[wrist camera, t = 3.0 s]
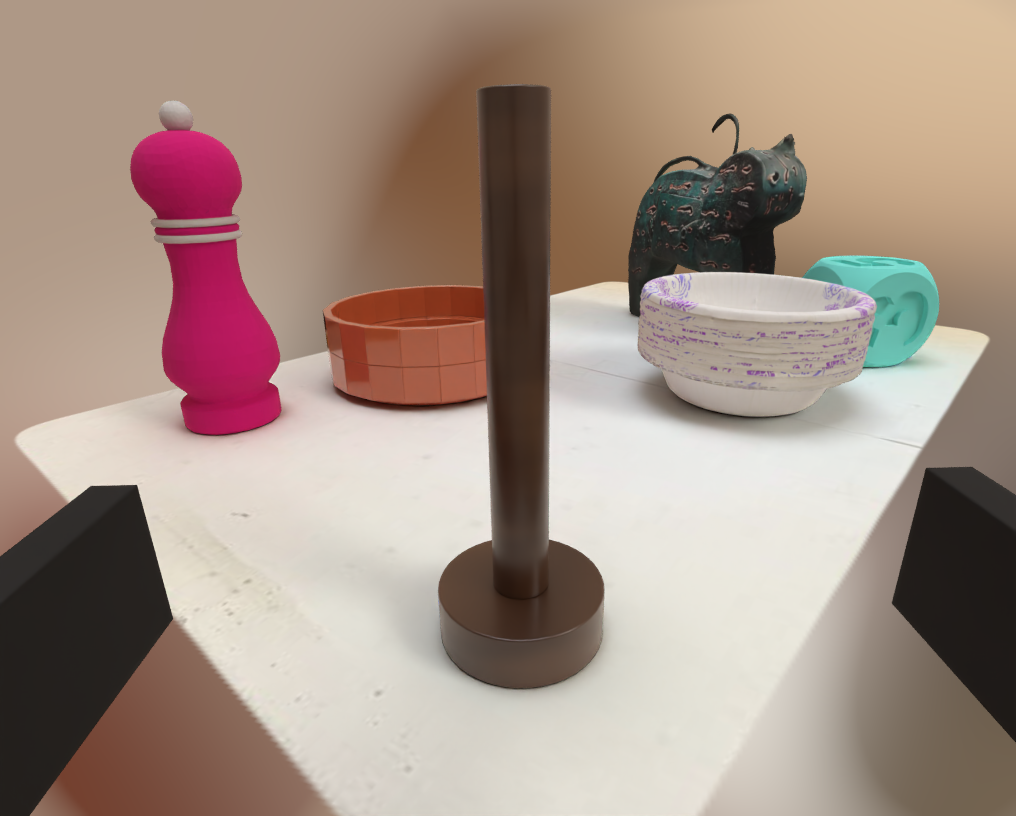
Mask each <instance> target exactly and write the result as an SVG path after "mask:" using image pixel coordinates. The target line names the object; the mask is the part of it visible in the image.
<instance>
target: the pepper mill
mask: <svg viewBox="0 0 1016 816" xmlns="http://www.w3.org/2000/svg"><path fill="white" fill-rule="evenodd" d="M159 117H160V120H161V123H162V124H163V126H164V127H165V128H166V129H167V131H161V132H158V133H155V134H152V135H150V136H148V137H146V138H145V139H144V140H142V141H141V142H140V143H139V144H138V146H137V147H136V148H135V150H134V152H133V155H132V158H131V167H130V168H131V169H130V170H131V179H132V182H133V184H134V187H135V189H136V191H137V193H138V194H139V196H140V197H141V198H142V199H143V200H144V201H145V202H146V203H147V204H148V205H149V206H150V207H151V208H152V209H153V210H154V211H155V213H156V215H157V217H158V218H154V219H152V220H151V224H152V225H153V226H154V227H156V228H155V233H156V235H155V236H154V239H155V241H157V242H159V243H163V245H164V248H165V251H166V253H167V256H168V259H169V262H170V266H171V273H172V278H173V299H172V304H171V309H170V314H169V318H168V322H167V326H166V330H165V334H164V337H163V345H162V358H163V367H164V371H165V374H166V376H167V377H168V378H169V379H170V381H171V382H173V383H174V384H175V385H176V386H178V387H179V388H180V389H182V390H183V391H185V392H186V393H187V395H186V396H185V397H184V398H183V399H182V401H181V409H182V413H183V417H184V422H185V426H186V427H187V428H188V429H189V430H191V431H193V432H195V433H199V434H208V435H221V434H231V433H237V432H242V431H247V430H251V429H254V428H257V427H260V426H263V425H265V424H267V423H269V422H271V421H273V420H274V419H275V418H276V417H278V416H279V414H280V412H281V403H280V398H279V392H278V388H277V387H276V386H275V385H274V384H272V383H269V380H270V378H271V377H272V375H273V374H274V373H275V371H276V369H277V367H278V365H279V362H280V352H279V349H278V345H277V341H276V338H275V336H274V334H273V332H272V330H271V328H270V326H269V324H268V322H267V321H266V320H265V318H264V317H263V315H262V314H261V312H260V311H259V309H258V308H257V306H256V305H255V303H254V302H253V300H252V298H251V297H250V295H249V293H248V291H247V289H246V287H245V284H244V282H243V280H242V276H241V272H240V268H239V263H238V258H237V243H236V239H237V238H240V237H241V236H242V232H241V231H240V230H239V225H238V224H237V222H239V221H240V218H239V217H238V216H237V215H234V214H232V207H233V205H234V203H235V201H236V200H237V198H238V196H239V194H240V192H241V188H242V181H241V175H240V171H239V168H238V165H237V162H236V160H235V158H234V156H233V155H232V154H231V152H230V151H229V149H227V148H226V147H225V146H224V145H223V144H222V143H221V142H219V141H218V140H216V139H215V138H213V137H211V136H209V135H206V134H203V133H200V132H196V131H190V128H191V127H192V124H193V116H192V114H191V112H190V110H189V109H188V107H186V106H185V105H184V104H182V103H180V102H178V101H168V102H165V103H164V104H163V105H162V106H161V108H160V110H159Z"/></svg>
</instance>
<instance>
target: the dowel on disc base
mask: <svg viewBox="0 0 1016 816" xmlns="http://www.w3.org/2000/svg"><path fill="white" fill-rule="evenodd" d="M477 116H478V117H477V119H478V147H479V176H480V207H481V235H482V265H483V294H484V323H485V352H486V381H487V410H488V439H489V468H490V497H491V526H492V540H491V541H487V542H484V543H481V544H478V545H476V546H474V547H471V548H469V549H467V550H466V551H464V552H462V553H461V554H460V555H458V556H457V557H456V558H454V559H453V560H452V561H451V562H450V563H449V565H448V566H447V567H446V568H445V570H444V572H443V574H442V576H441V578H440V581H439V587H438V596H439V609H440V623H441V635H442V641H443V644H444V647H445V649H446V651H447V653H448V655H449V656H450V657H451V659H452V660H453V662H455V663H456V664H457V665H458V666H459V667H460V668H461V669H462V670H464V671H465V672H466V673H468V674H469V675H471V676H473V677H475V678H477V679H479V680H481V681H484V682H486V683H490V684H493V685H497V686H503V687H509V688H534V687H541V686H546V685H550V684H554V683H557V682H559V681H562V680H565V679H567V678H569V677H570V676H572V675H574V674H576V673H577V672H579V671H580V670H581V669H583V668H584V667H585V666H586V665H587V664H588V663H589V662H590V661H591V660H592V658H593V657H594V656H595V654H596V652H597V650H598V648H599V646H600V643H601V640H602V632H603V610H604V583H603V579H602V576H601V574H600V572H599V570H598V569H597V567H596V566H595V565H594V563H593V562H592V561H591V560H590V559H589V558H587V557H586V556H585V555H584V554H582V553H581V552H579V551H577V550H576V549H574V548H572V547H570V546H568V545H565V544H562V543H560V542H556V541H553V540H549V381H550V179H551V177H550V176H551V174H550V173H551V172H550V171H551V161H550V160H551V89H550V88H549V87H547V86H542V85H527V84H519V85H518V84H517V85H515V84H514V85H496V86H487V87H482V88H479V89H477Z"/></svg>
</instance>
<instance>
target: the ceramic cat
mask: <svg viewBox="0 0 1016 816" xmlns="http://www.w3.org/2000/svg"><path fill="white" fill-rule="evenodd" d="M726 119H731V120H732V121H733V122H734V124H735V126H736V143H735V148H734V152H733V155H732V156H730V157H729V158H728V159H727V160H726V161H725V162H724V163H723V164H722V165H721V166H720V167H719V168H717V167H713V166H711V165H709V164H706V163H704V162H702V161H701V160H699V159H697V158H694V157H692V156H685V157H680V158H676V159H674V160H671V161H670V162H668V163H667V164H665V165H664V166H663V167H662V168H661V170H660V171H659V172H658V174H657V176H656V178H655V180H654V183H653V184H652V186H651V187H650V188H649V189H648V190H647V192H646V193H645V195H644V197H643V199H642V201H641V203H640V206H639V209H638V213H637V217H636V221H635V225H634V231H633V237H632V243H631V248H630V252H629V269H628V271H629V281H628V283H629V306H630V312H631V313H632V314H634V315H636V316H639V317H640V315H641V313H640V301H641V297H640V296H641V293H642V289H643V287H644V285H645V284H646V283H647V282H649V281H651V280H653V279H656V278H659V277H664V276H669V275H673V274H674V271H675V269H676V266H677V264H679V265H681V266H683V267H685V268H688V269H692V270H695V271H698V272H700V273H702V272H737V273H758V274H770V275H774V267H775V259H776V256H775V248H774V236H773V229H774V228H775V227H776V226H778V225H779V224H782V223H784V222H786V221H788V220H790V219H792V218H793V217H795V216H796V215H797V214H798V213H799V212H800V209H801V205H802V203H803V200H804V193H805V187H806V181H807V176H806V170H805V168H804V165H803V164H802V163H801V161H800V160H799V159H798V158H797V157H796V156H795V149H794V144H795V142H794V138H793V136H792V134H789V135H788V136H786V137H785V138H784V139H782V141H780V142H779V143H778V144H777V145H776V146H775V147H773V148H771V149H770V150H763V151H762V150H755V149H754V148H753V147H751V148H750V149H749V150H746V151H741V152H738V153H737V148H738V140H739V139H738V138H739V123H738V119H737V118H736V117H735V116H734V115H733V114H726V115H723V116H722V117H720V118H719V119H718V120H717V122H716V123H715V125H714V126H713V128H712V132H714V131H715V130H716V128H717V127H718V126H719V125H721V124H722V123H723V122H724V121H725V120H726ZM686 160H689V161H694V162H696V163H697V164H698V165H699V167H698V168H696V169H693V170H677V171H672V172H669V173H666V174H664V175H662V174H663V173H664V172H665V171H666V170H667V169H668V168H669V167H670V166H672V165H674V164H677V163H680V162H682V161H686Z"/></svg>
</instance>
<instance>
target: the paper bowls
mask: <svg viewBox="0 0 1016 816" xmlns="http://www.w3.org/2000/svg"><path fill="white" fill-rule="evenodd" d="M640 297H641V301H640V313H641V315H640V318H639V323H638V324H639V332H638V351H639V353H640V354H641V356H642V357H643V358H644V359H645V360H646V361H648V362H650V363H651V364H653V365H654V366H657V367H658V368H661V369H662V372H663V375H664V378H665V380H666V383H667V385H668V386H669V388H670V389H671V390H672V391H673V392H674V393H675V394H676V395H677V396H679V397H680V398H682V399H683V400H685V401H687V402H689V403H691V404H693V405H696V406H698V407H701V408H704V409H708V410H712V411H716V412H720V413H726V414H732V415H740V416H755V417H766V416H779V415H786V414H791V413H796V412H799V411H801V410H804V409H806V408H808V407H810V406H811V405H812V404H814V403H815V402H816V401H817V400H818V399H819V398H820V397H821V395H822V394H823V393H824V392H825V390H826V389H827V388H832V387H835V386H838V385H840V384H842V383H845V382H849V381H851V380H853V379H855V378H856V377H858V374H859V375H860V374H861V372H862V369H863V364H864V361H865V358H866V354H867V351H868V345H869V340H870V336H871V334H872V326H873V323H874V320H875V315H874V313H875V312H876V308H877V305H876V302H875V300H873V298H871V297H870V296H869V295H867V294H866V293H863V292H861V291H858V290H856V289H852V288H849V287H845V286H842V285H838V284H833V283H828V282H823V281H818V280H812V279H805V278H798V277H790V276H782V275H770V274H758V273H737V272H702V273H687V274H676V275H669V276H664V277H659V278H656V279H653V280H651V281H649V282H647V283H646V284H645V285H644V287H643V289H642V293H641V296H640Z"/></svg>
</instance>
